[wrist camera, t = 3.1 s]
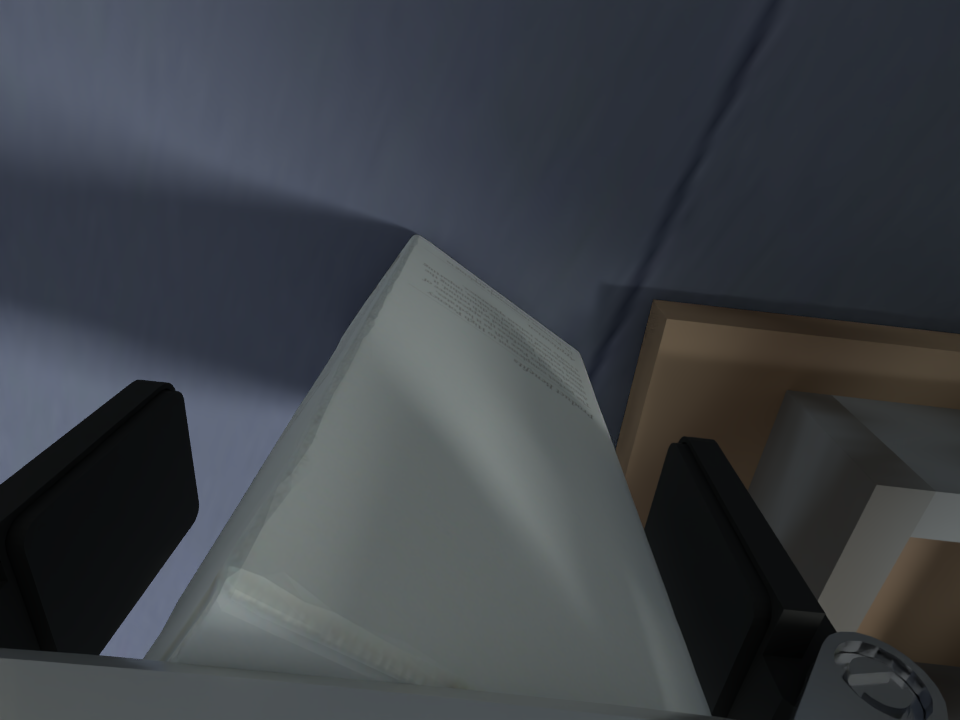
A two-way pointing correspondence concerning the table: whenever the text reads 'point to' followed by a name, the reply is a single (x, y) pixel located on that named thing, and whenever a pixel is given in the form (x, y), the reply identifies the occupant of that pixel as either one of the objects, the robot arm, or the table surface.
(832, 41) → the table surface
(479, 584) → the skincare box
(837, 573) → the socket
